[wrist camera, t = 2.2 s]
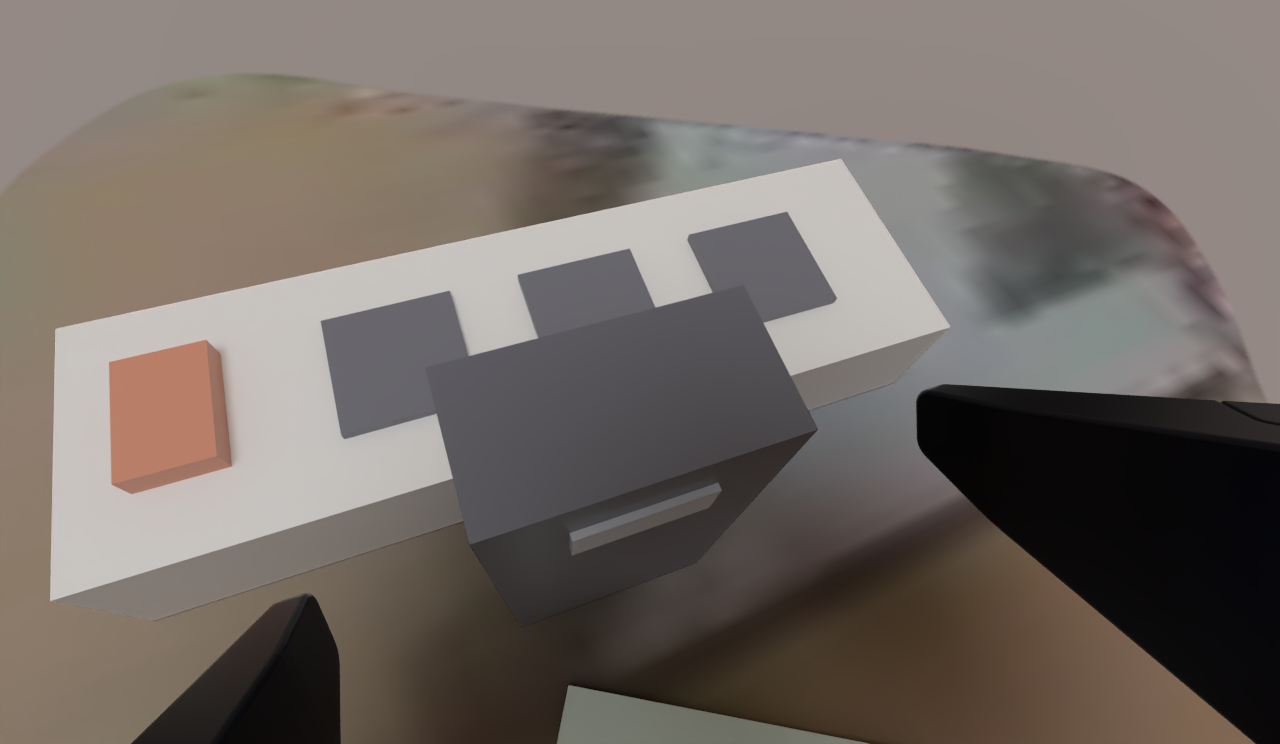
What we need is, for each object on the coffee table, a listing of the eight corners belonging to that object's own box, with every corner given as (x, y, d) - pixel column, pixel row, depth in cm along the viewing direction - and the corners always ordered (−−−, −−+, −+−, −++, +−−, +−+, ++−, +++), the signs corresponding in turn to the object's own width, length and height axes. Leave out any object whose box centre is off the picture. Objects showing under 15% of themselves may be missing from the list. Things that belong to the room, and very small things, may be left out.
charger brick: (697, 567, 18) (822, 437, 9) (522, 632, 17) (471, 554, 8) (662, 478, 19) (744, 284, 10) (495, 532, 18) (424, 367, 9)
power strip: (804, 230, 24) (849, 141, 20) (894, 385, 21) (966, 317, 18) (142, 392, 19) (33, 313, 15) (153, 625, 16) (24, 601, 12)
